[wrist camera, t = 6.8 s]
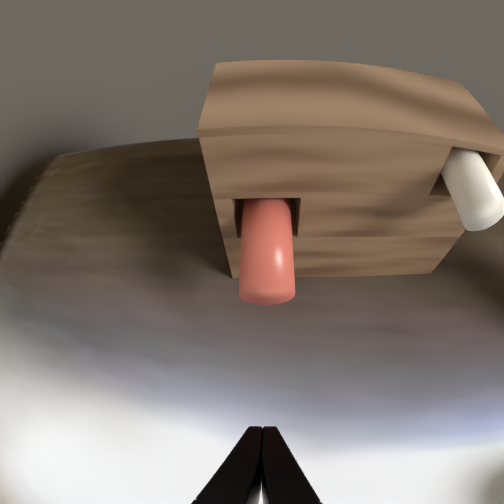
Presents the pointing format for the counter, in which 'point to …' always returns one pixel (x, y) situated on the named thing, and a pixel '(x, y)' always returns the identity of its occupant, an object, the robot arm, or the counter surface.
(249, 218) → the salmon pink cylinder
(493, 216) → the ivory button
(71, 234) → the counter surface
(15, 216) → the counter surface
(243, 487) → the robot arm
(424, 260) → the wooden block
